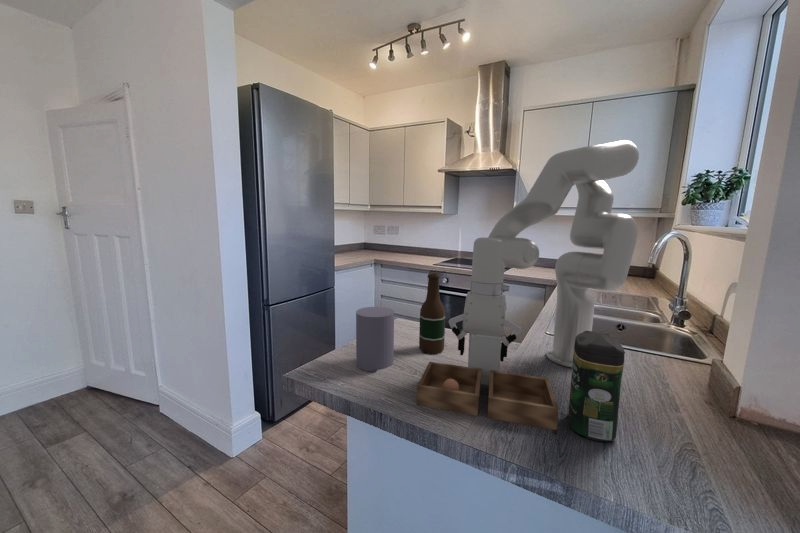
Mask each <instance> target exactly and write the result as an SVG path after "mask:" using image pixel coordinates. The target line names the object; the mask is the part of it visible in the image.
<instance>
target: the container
mask: <svg viewBox="0 0 800 533" xmlns="http://www.w3.org/2000/svg"><path fill="white" fill-rule="evenodd" d="M355 323H356V324H355V337H356V338H355V339H356V340H355V343H356V344H355V345H356V346H355V348H356V349H355V352H356V355H355V357H356V358H355V362H356V364H355V365H356V366H357V367H358V368H359V369H360V370H363V371H366V372H371V373H375V372H378V370H383V369H388V368H389V367H391V366H393V364H394V357H395V356H394V355H395V354H394V352H395V351H394V350H395V348H394V346H395V345H394V344H395V343H394V342H395V311H394V309H392V308H389V307H385V306H384V307H383V306H367V307H366V306H365V307H362V308H359V309H357V310H356V312H355Z"/></svg>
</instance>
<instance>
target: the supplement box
mask: <svg viewBox="0 0 800 533" xmlns="http://www.w3.org/2000/svg"><path fill="white" fill-rule="evenodd" d="M468 334H469V336H468V353H467V354H468V355H467V357H468V359H467V367H470V368H478V369H482V372H481V385H487V386H489V379H490V370H492V371H499V372H501V371H500V368H501V361H500V354H501V342H502V341H501V337H498V336H489V335H481V334H470V333H468Z"/></svg>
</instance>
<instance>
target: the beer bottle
mask: <svg viewBox="0 0 800 533" xmlns="http://www.w3.org/2000/svg"><path fill="white" fill-rule="evenodd" d="M440 278H441V276H440V273H437V272H431V273H428V274H427V291H426V297H425V300H424V301H423V303H422V304H421V308H420V311H419V312H420V313H419V335H418V336H419V337H418V340H419V342H418V344H419V347H418V348H419V350H420V351H421V352H422V351H423V352H424V353H423V352H422V353H423V354H427V353H429V354H428V355H432V354H433V355H439V354H438V353H440V354H442V352H443V351H444V349H445V338H446V337H445V336H446V335H445V334H446V332H445V331H446V330H445V329H446V309H445V306H444V304H443V302H442V300H441V296H440Z"/></svg>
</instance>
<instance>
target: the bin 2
mask: <svg viewBox="0 0 800 533" xmlns="http://www.w3.org/2000/svg"><path fill="white" fill-rule="evenodd" d="M487 402H488V403H487V404H488V405H487V419H492V420H498V421H502V422H503V421H504V422H509V423H514V424H520V425H525V426H530V427H537V428H541V429H546V430H551V431H552V434H555V435H557V432H558V431H557V430H558V420H559V406H558V403H557V400H556V398H555V394H554V391H553V388H552V385H551V382H550V379H549V378H548V377H541V376H536V375H535V376H534V375H525V374H521V373H520V374H519V373H513V372H505V371H500V372H499V371H492V370H490V379H489V385H488V401H487Z"/></svg>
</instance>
